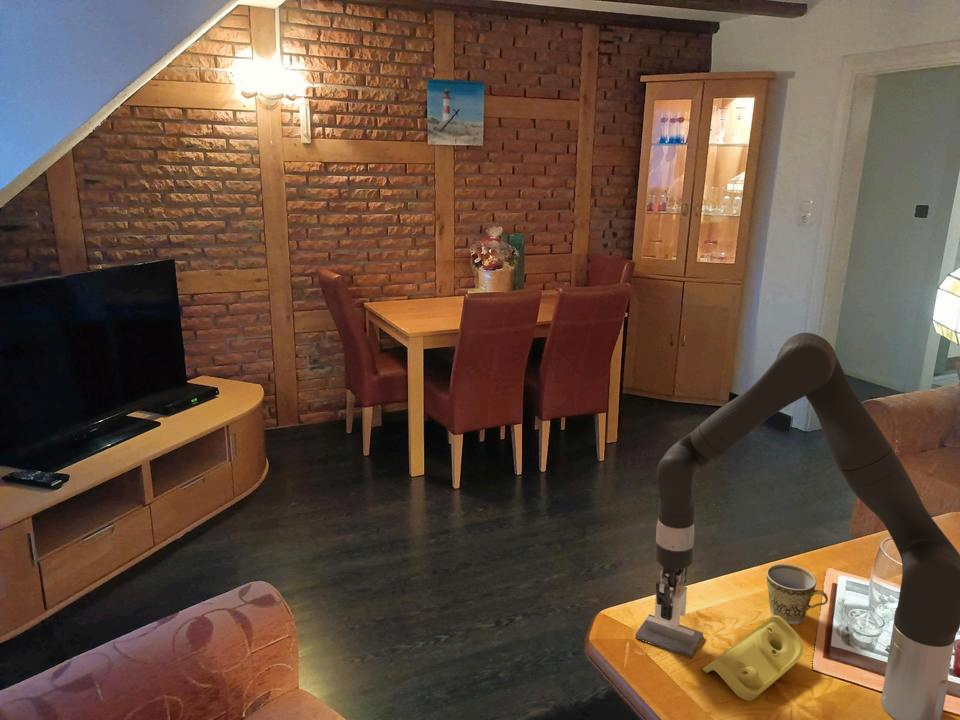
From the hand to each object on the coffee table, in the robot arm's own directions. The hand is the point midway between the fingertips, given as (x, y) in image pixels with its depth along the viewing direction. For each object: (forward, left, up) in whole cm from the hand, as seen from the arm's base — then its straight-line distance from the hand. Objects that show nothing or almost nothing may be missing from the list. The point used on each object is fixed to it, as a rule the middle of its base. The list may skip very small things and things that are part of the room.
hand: (670, 611), depth 147 cm
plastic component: (-18, +1, -7) cm, 19 cm away
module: (0, 0, -1) cm, 1 cm away
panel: (0, 0, -7) cm, 7 cm away
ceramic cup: (-21, -21, -7) cm, 30 cm away
